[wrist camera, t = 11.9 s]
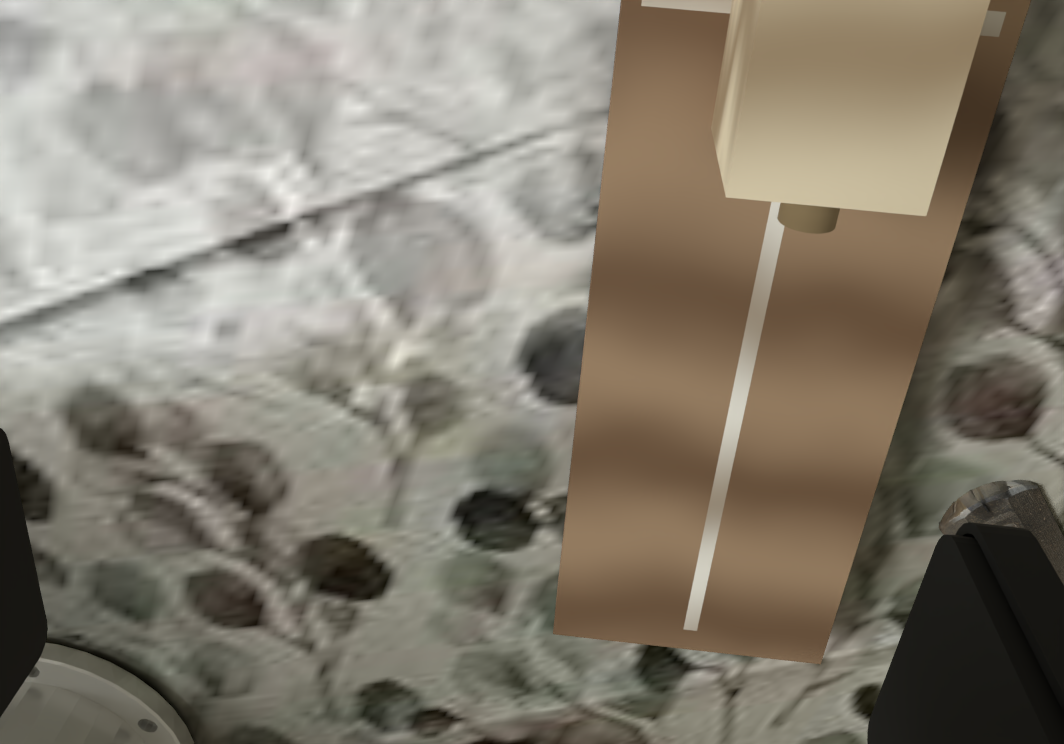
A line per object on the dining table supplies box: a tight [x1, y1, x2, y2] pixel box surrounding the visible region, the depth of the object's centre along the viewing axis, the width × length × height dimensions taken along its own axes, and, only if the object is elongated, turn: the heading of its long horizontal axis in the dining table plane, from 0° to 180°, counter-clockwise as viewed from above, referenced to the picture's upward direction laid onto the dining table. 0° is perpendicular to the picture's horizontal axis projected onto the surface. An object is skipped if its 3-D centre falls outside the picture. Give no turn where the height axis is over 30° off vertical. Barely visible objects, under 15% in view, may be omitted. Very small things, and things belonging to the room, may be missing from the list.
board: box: [553, 0, 1031, 664], centre depth 30 cm, size 28×10×2 cm, turn 176°
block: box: [939, 480, 1064, 585], centre depth 36 cm, size 4×6×2 cm, turn 40°
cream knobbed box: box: [711, 0, 990, 234], centre depth 23 cm, size 8×4×5 cm, turn 176°
